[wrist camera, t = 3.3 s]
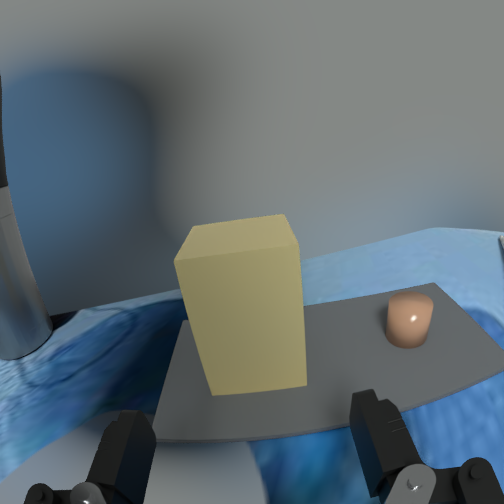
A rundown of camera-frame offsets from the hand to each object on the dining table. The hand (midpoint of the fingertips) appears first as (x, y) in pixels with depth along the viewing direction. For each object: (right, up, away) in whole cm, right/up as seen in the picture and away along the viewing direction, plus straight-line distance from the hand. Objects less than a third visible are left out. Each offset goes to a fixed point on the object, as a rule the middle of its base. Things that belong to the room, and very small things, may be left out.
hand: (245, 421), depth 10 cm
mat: (+7, -1, +12) cm, 14 cm away
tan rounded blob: (+13, 0, +11) cm, 17 cm away
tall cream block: (+1, -2, +12) cm, 12 cm away
